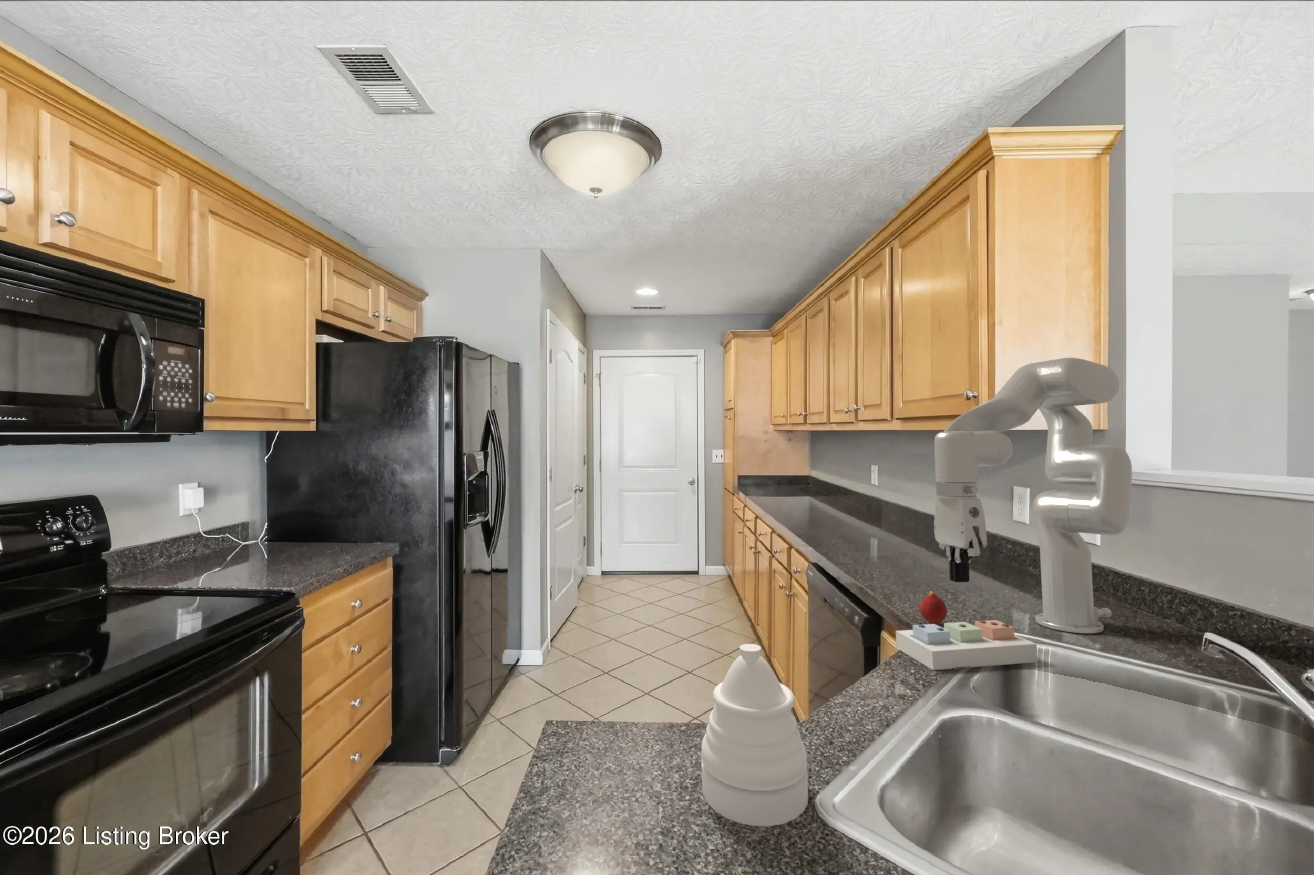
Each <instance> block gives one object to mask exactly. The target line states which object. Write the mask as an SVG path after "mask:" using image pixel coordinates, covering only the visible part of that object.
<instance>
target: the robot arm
mask: <svg viewBox="0 0 1314 875" xmlns="http://www.w3.org/2000/svg"><path fill="white" fill-rule="evenodd" d="M1119 380H1120V379H1119V378H1118V375H1117V374H1116V372H1115V371H1114V370H1113V369H1111V368H1110V367H1108V366H1107V365H1104V364H1101V363H1097V362H1094V361H1091V360H1086V359H1083V358H1078V357H1063V358H1057V359H1051V360H1044V361H1038V362H1033V363H1032V362H1031V363H1027V364H1025V365H1022V366H1020V367H1019V368H1018V369H1017V370H1016V371H1015V372H1014V373H1013V374H1012V375H1011V376H1010V378H1008V380H1007V381H1006V382H1005V384H1004V385H1003V386H1002V387H1001V388H1000V389H999V391H997V393H996V394H995V396H994V397H992V398H991V399H989V400H987V401H986V400H985V402H982V403H981V404H979V405H977V406H974V407H973V408H971V409H970V410H968V411H966V412H964V413H962V414H961V415H959V416H958V417H956V418H955V419H953V421H951V423H949V425H948V426H947V427H946V428H945V430H943V431H940V432H938V433H937V434H935V436H934V465H935V467H934V468H935V469H934V470H935V494H936V495H935V503H934V512H933V513H934V517H933V519H934V520H933V530H934V531H933V533H934V539H935V541H936V542H937V543H938V548H940V549H941V550H943V551H944V553H945V554H946V559H947V561H948V562H949V563H948V565H949V566H948V567H949V581H951V582H955V583H969V582H970V563H971V562H972V558H973V557H976V556H977V557H979V556H981V549H984V548H987V543H988V538H987V526H986V517H985V513H984V508H983V504H982V500H981V499H980V498H979V485H978V484H979V482H978V467H997V466H1001V465H1003V464H1005V463H1007V461H1009V459H1010V458H1011V457H1012V454H1013V451H1014V449H1013V448H1014V447H1013V443H1012V441H1011V439H1010V438H1009V436H1008V435H1007V434H1005V433H1003V432H1006V431H1009V430H1012V429H1015V428H1018V427H1020V426H1023V425H1025V424H1027V423H1028V422H1029V421H1030V420H1031V419H1032V418H1033V417H1034V415H1035V414H1036V413H1037V411H1038V410H1039V411H1040V413H1041V415H1042V416H1043V418H1044V420H1045V422H1046V425H1047V442H1046V449H1045V450H1046V453H1045V462H1044V473H1045V477H1046V478H1047V480H1048V481H1049V482H1051V483H1053V484H1056V485H1061V486H1073V487H1075V486H1077V487H1097V491H1085V490H1084V491H1083V490H1082V491H1081V490H1070V489H1069V490H1068V489H1067V490H1064V489H1052V490H1046V491H1042V492H1041V493H1039V494H1038V495H1036V497H1034V500H1033V502H1032V512H1033V517H1034V521H1035V524H1036V529H1037V533H1038V541H1039V556H1040V557H1039V558H1040V559H1039V560H1040V576H1041V580H1040V581H1041V595H1042V596H1041V597H1042V598H1041V599H1042V612H1041V613H1038V614H1036V615H1035V621H1036V623H1037V624H1039V625H1041V626H1044V627H1046V628H1049V629H1052V630H1056V631H1061V632H1068V633H1075V634H1099V633H1101V632H1103V631H1104V629H1105V627H1104V624H1103V623H1101V621H1099V619H1100V618H1108V617H1110V618H1111V617H1112V615H1113V613H1112V610H1111V609H1110V608H1108V607H1102V608H1098V607H1096V606H1094V591H1093V590H1094V588H1093V572H1092V571H1093V570H1092V552H1091V550H1090V547H1089V545H1088V544H1087V542H1086V541H1085V539H1084V538H1083V537H1082V536H1081V533H1082V534H1091V535H1104V536H1117V535H1120V534H1122V533H1123V532H1124V531H1125V530H1126V529H1127V526H1128V523H1129V519H1130V518H1129V517H1130V507H1131V506H1130V505H1131V497H1132V496H1131V493H1132V479H1133V466H1132V461H1131V458H1130V456H1129V454H1128V452H1127V451H1126V450H1124V448H1122V447H1120V446H1118V445H1114V444H1113V445H1112V444H1093V431H1094V430H1093V425H1092V422H1091V421H1090V420H1089V419H1088V417H1087V416H1086V415H1085V414H1083V413H1082V411H1080V410H1079V409H1078V408H1077V406H1078V407H1079V406H1088V405H1090V406H1091V405H1099V404H1106V403H1109V402H1110V401H1112V400H1113V399H1115V397H1116V396H1118V395H1117V394H1118V393H1119V390H1120V381H1119Z"/></svg>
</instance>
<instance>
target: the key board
mask: <svg viewBox="0 0 1314 875" xmlns="http://www.w3.org/2000/svg"><path fill="white" fill-rule="evenodd" d="M895 647H896V649H897V650H899V651H901V652H903V653H904V654H906V655H907V656H909V657H911V658H913V659H915V660H916V661H917V662H919V663H921V664H923V665H924V666H925V667H927V668H929V669H930V670H932V671H936V670H938V671H939V670H948V669H949V670H950V669H951V670H952V668H954V669H956V668H955V667H963V666H970V667H969V668H976V667H977V668H979V667H980V668H981V667H992V666H1003V665H1004V666H1005V665H1018V664H1029V663H1033V664H1034V663H1038V645H1037V643H1035V642H1033V641H1031V640H1028V639H1027V638H1024V637H1021V636H1019V635H1016V634H1014V639H1010V640H995V641H992V640H990V639H987V638H985V637H983V641H981V642H967V643H959V642H957V641H955V640H953V639H951V638H950V644H938V645H926V644H924V643H922V642H920V641H919V640H917V639H915V638H913V629H906V630H903V629H902V630H895Z"/></svg>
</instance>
